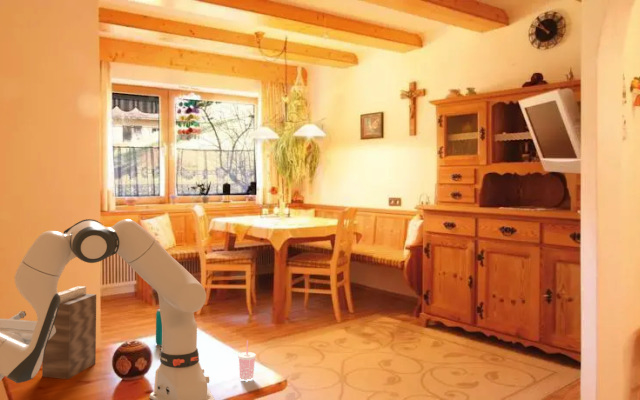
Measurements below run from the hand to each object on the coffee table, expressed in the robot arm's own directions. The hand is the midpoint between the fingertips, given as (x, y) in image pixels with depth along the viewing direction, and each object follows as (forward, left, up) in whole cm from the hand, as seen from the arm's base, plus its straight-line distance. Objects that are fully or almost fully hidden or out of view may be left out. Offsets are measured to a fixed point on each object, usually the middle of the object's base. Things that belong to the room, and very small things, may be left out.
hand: (36, 313), depth 172 cm
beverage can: (+24, -50, -25) cm, 61 cm away
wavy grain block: (+13, -13, -25) cm, 31 cm away
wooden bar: (+9, -9, +1) cm, 13 cm away
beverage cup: (-28, -62, -25) cm, 73 cm away
